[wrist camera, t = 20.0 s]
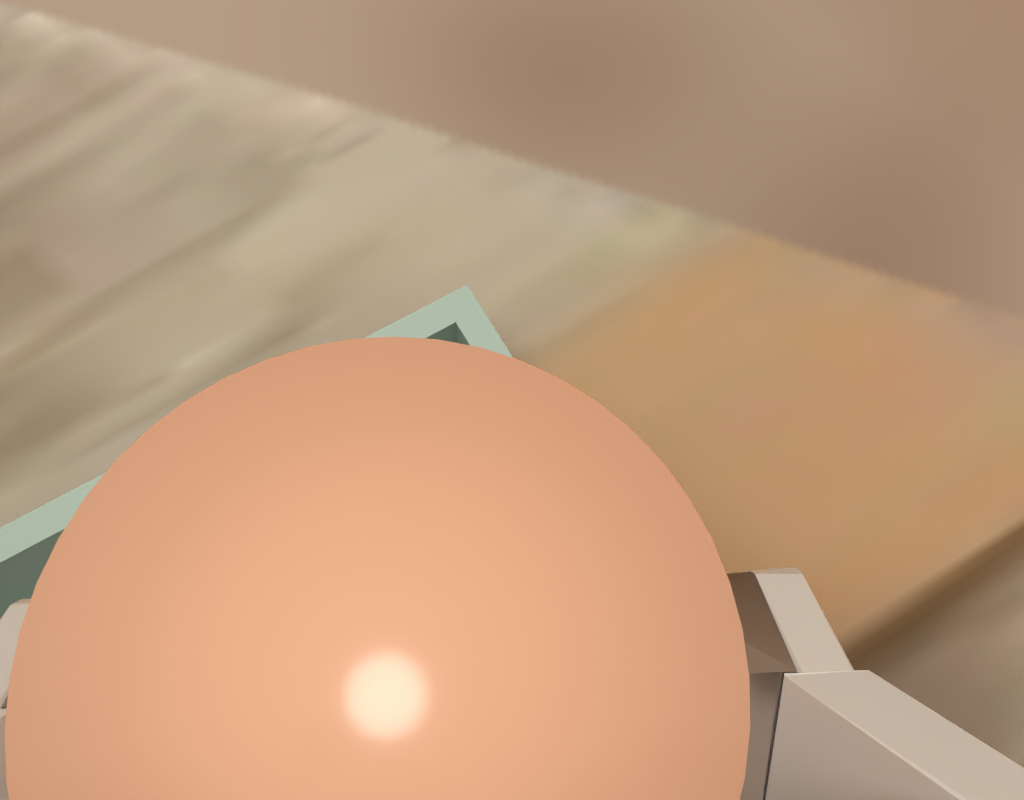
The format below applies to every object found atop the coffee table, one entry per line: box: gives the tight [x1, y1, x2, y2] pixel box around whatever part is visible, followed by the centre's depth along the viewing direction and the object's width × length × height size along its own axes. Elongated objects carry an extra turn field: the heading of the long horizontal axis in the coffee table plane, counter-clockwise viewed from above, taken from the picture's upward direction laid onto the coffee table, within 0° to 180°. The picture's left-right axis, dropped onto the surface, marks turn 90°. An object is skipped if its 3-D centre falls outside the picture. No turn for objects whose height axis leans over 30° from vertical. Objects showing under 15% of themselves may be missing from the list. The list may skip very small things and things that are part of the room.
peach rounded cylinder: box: [5, 337, 750, 800], centre depth 11 cm, size 5×5×9 cm
